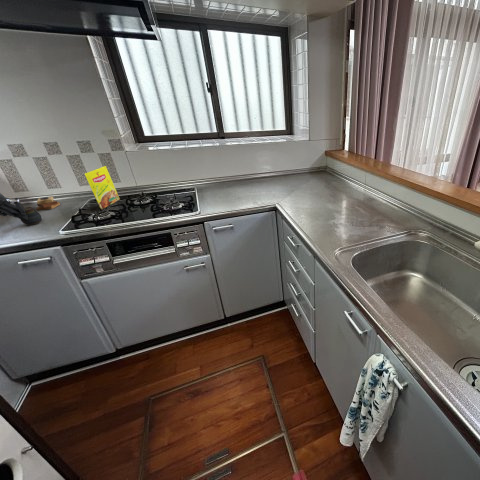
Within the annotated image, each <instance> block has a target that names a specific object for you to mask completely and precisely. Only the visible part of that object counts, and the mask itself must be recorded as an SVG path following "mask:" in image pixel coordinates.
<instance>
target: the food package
mask: <svg viewBox="0 0 480 480" xmlns="http://www.w3.org/2000/svg"><path fill="white" fill-rule="evenodd" d="M84 176H85V178H86V180H87V183H88V185H89V187H90V190H91V191H92V193H93V195H94V198H95V199H96V203H97V204H98V207H99V208H100V210H103V209H106V208H107V207H109V206H111V205H113V204H115V203H116V202H118V201H120V200H121V197H119V194H118V191H117V189H116V186H115V184H114V181H113V179H112V177H111V174H110V173H109V170H108V168H107V165H104V166H102V167H99V168H96V169H93V170H90V171H88V172H84Z"/></svg>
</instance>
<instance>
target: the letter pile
mask: <svg viewBox="0 0 480 480" xmlns="http://www.w3.org/2000/svg"><path fill="white" fill-rule="evenodd" d="M36 205H37V207H35V208H36V209H37V211H45V210H53V209H55V208H56V207H58V206H60V205H61V203H60V201H57V200H55V198H54V196H45V197H39V198H38V199H37V201H36Z"/></svg>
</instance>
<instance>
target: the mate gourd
mask: <svg viewBox="0 0 480 480" xmlns="http://www.w3.org/2000/svg"><path fill="white" fill-rule="evenodd" d="M24 208H25V213H26V215H28V221H23V220H21V219H20V221H21V222H22V223H23V224H24V225H26V226H34V225H37V224H40V223H41V222H42V221H43V218H42V215H41V213H39V212H38V210H36V209H35V208H34V206H24Z"/></svg>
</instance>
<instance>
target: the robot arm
mask: <svg viewBox="0 0 480 480" xmlns="http://www.w3.org/2000/svg"><path fill="white" fill-rule="evenodd" d="M24 207H25V206H24V205H23V204H22V203H21V202H20V198H18V197H15V198H14V199H11V198H9V197H6V196H4V195H3V194H2V193H1V192H0V216H2V217H7V216H9V217H13V218H15V219H16V218H17V219H19V220H20V221H21V220H23V221H28V215H26V213H25V208H24Z"/></svg>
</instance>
